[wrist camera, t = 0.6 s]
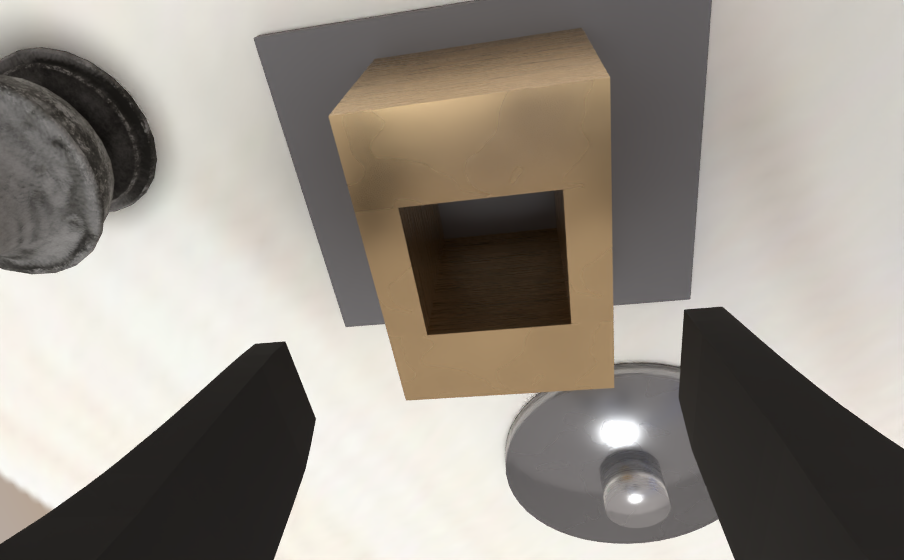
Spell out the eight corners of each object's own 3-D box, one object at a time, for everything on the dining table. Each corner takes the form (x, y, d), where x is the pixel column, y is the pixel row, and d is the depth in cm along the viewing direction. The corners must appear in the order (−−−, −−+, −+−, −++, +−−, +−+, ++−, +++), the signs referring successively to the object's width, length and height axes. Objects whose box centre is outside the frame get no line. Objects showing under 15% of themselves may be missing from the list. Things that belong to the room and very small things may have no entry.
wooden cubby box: (582, 27, 15) (610, 77, 11) (591, 282, 20) (614, 387, 15) (374, 59, 16) (328, 116, 12) (426, 297, 20) (405, 400, 16)
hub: (769, 353, 21) (800, 406, 19) (740, 524, 26) (761, 581, 24) (492, 372, 23) (490, 423, 20) (517, 530, 28) (518, 583, 26)
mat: (709, -38, 15) (714, -37, 14) (686, 292, 20) (690, 299, 20) (258, 35, 16) (253, 38, 16) (348, 320, 22) (345, 326, 21)
